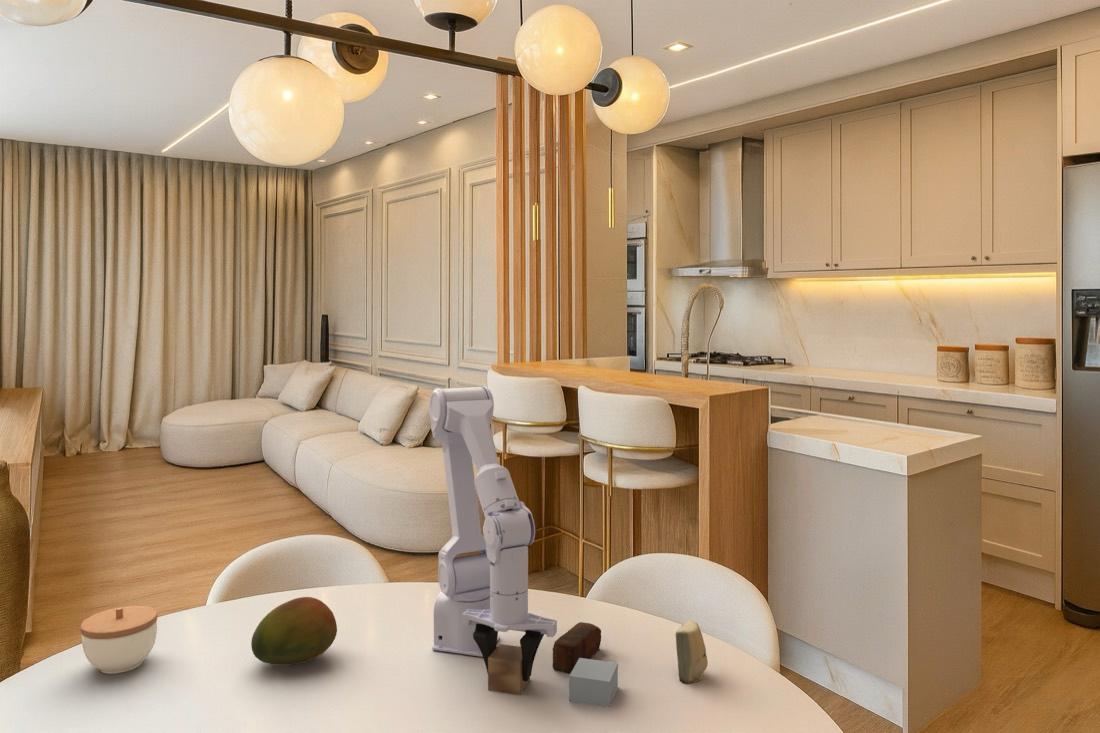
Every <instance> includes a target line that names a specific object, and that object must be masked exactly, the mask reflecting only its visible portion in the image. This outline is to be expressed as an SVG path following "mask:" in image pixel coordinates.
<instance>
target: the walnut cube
mask: <svg viewBox="0 0 1100 733" xmlns="http://www.w3.org/2000/svg"><path fill="white" fill-rule="evenodd" d="M522 664H523V662H522V651H521V646H519V645H510V644H504V643H499V644H497V648H496V649H495V650H494V651H493V653H492V654H491V655H490V656H489V657H488V673H487V681H488V682H487V691H491V692H497V693H505V694H510V695H515V696H516V695H518V696H520V695H521V694H522V692H523V691H524V689H525V688H526V687H527V685H528V683H530V680H531V677H530V678H529V679H528V681H523V678H522Z"/></svg>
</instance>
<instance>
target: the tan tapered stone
mask: <svg viewBox="0 0 1100 733" xmlns="http://www.w3.org/2000/svg"><path fill="white" fill-rule="evenodd" d="M700 627H701V626H700V625H699V623H698V622H696V621H695V620H692V619H690V620H686V621H685V622H684V624H682V625H681V626H680V627H679V628H678V629H677V630H676V631H675V643H676V644H675V647H676V656H677V657H676V659H677V669H678V670H677V671H678V678H679V682H682V683H685V684H692V683H694V682H697V681H698V682H699V681H701V680H702V679H703V676H704V675H703V674H704V673H705V672H706V670H707V668H708V663H709V662H708V655H707V650H706V649H707V647H706V645H705V640H704V637H703V633H702V631H701V628H700Z"/></svg>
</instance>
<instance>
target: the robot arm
mask: <svg viewBox="0 0 1100 733" xmlns="http://www.w3.org/2000/svg"><path fill="white" fill-rule="evenodd" d="M494 402H495V401H494V397H493V394H492V392H491V390H490V389H489V387H488V386H486V385H482V386H471V387H453V388H450V387H449V388H440V387H437V388H435V389H434V390H433V391H432V393H431V394H430V398H429V403H428V411H429V412H428V413H429V422H430V428H431V432H432V438H434V439H435V440H437V441H440V442H441V449H442V454H443V462H444V471H445V481H446V489H447V490H446V491H447V498H448V507H449V518H450V524H451V533H452V537H451V538H450V540H448V541H447V543H445V544H444V545H443V547H441V549H440V550H439V552H438V555H437V556H438V557H437V558H438V559H437V560H438V568H437V579H438V585H439V588H440V590H441V591H440V592H439V593H438V594H437V597H436V598H435V602H434V606H433V645H432V646H431V649H432V650H433V651H437V652H438V651H439V652H444V653H446V652H447V653H451V654H452V653H453V654H460V655H468V656H472V657H473V656H474V657H481V658H483V660H484V661H483V662H484V664H485V669H486V673H487V674H488V657H489V656H490V655H491V654H492V653H493V651H494V650H495V649H496V648H497V647H498V641H499V640H500V639H501V636H500V635H501V634H499V633H501V632H502V633H506V632H508V631H514V632H515V631H516V632H524V634H523V635H522V637H521V638H520V640H519V644H520V647H521V651H522V662H523V664H522V678H523V681H528V679H529V678H530V679H531V676H532V672H533V671H532V670H533V665H534V661H535V658H536V654H537V652H538V648H539V647H540V644H541V642H542V640H543V638H544V636H545V635H546V637H548V638H554V637H555V636H556V634H557V632H558V631H557V630H558V625H557V623H558V621H557V619H552V618H548V617H544V616H542V615H537V614H534V613H531V612H529V547H528V546H531V545H533V543H534V541H535V536H536V526H535V520H534V517H533V514H532V512H531V510H530V509H529V507H527V506H526V505H525V502H523V501H520V499H519V497H518V494H517V491H516V488H515V485H514V482H513V479H512V477H511V473H510V471H509V469H508V468H507V467H505V466H502V465H500V462H499V459H498V454H497V450H496V449H497V448H496V445H495V441H494V438H493V437H494V436H493V434H492V430H491V423H492V421H493V417H494V409H495V403H494ZM474 467H475V468H476V471H477V474H476V475H475V471H474ZM478 500H479V502H480V506H481V509H482V512H483V515H484V518H485V519H484V522H483V526H482V530H481V521H480V513H479V512H480V511H479V505H478V503H479V502H478ZM482 531H483V534H482ZM473 552H478V553H475V554H469V555H463V556H461V554H468V553H473ZM479 552H480V553H479ZM458 555H460V556H458Z"/></svg>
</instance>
